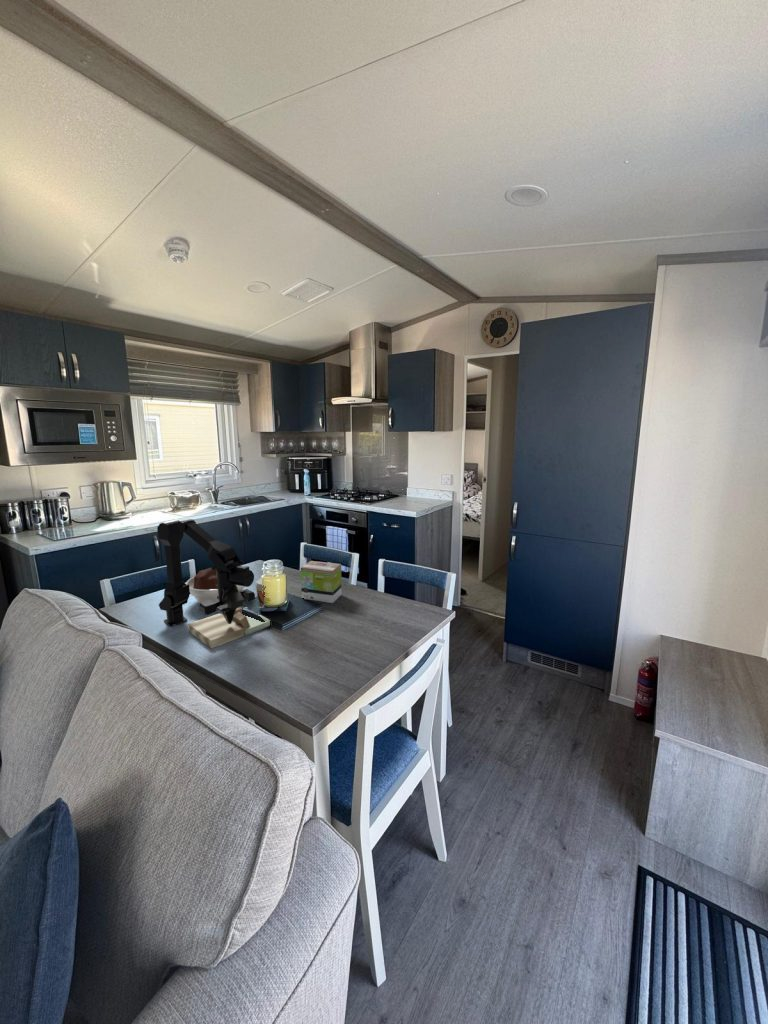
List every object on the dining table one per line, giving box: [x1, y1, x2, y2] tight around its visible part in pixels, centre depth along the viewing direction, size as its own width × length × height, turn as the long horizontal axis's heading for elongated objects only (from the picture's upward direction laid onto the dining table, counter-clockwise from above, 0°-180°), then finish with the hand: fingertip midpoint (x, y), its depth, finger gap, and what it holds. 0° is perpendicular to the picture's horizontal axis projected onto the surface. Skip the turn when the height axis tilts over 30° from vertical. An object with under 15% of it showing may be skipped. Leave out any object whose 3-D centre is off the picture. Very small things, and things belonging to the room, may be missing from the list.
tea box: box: [300, 560, 342, 604], centre depth 185 cm, size 15×10×15 cm
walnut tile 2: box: [233, 612, 250, 629], centre depth 157 cm, size 5×5×2 cm
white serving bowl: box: [185, 567, 246, 604], centre depth 182 cm, size 25×25×15 cm
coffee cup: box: [255, 577, 266, 607], centre depth 174 cm, size 9×9×12 cm
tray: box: [232, 606, 272, 637], centre depth 162 cm, size 18×11×2 cm, turn 47°
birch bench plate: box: [187, 612, 245, 649], centre depth 154 cm, size 18×12×3 cm, turn 47°
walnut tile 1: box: [232, 607, 243, 622], centre depth 164 cm, size 5×5×2 cm
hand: (229, 623), depth 153 cm, fingers closed
